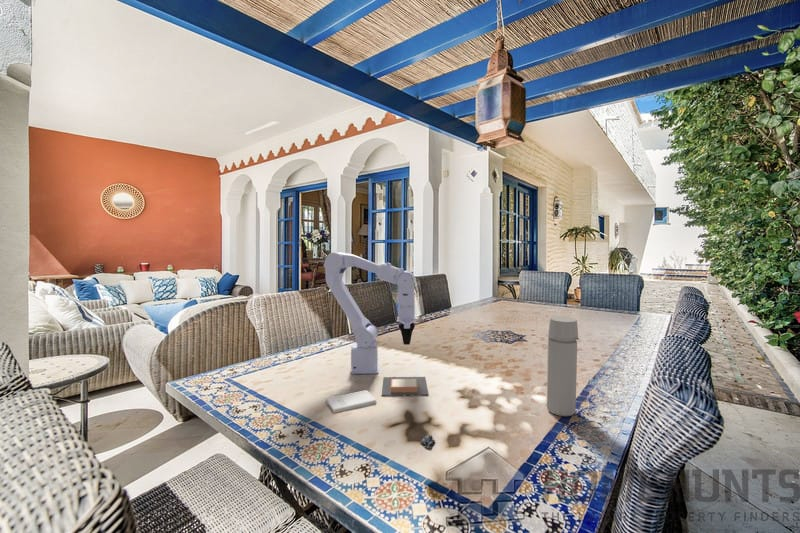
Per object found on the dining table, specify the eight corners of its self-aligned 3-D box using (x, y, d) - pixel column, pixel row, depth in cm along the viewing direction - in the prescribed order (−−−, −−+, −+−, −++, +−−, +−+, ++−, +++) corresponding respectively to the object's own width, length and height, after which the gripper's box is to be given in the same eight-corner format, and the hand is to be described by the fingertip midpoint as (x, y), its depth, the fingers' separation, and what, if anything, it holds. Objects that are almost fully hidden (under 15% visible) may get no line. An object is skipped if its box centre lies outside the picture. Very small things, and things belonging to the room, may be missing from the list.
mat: (381, 396, 107) (381, 394, 107) (383, 378, 121) (383, 377, 121) (428, 395, 107) (428, 394, 107) (425, 377, 121) (425, 376, 121)
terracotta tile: (391, 384, 115) (390, 392, 108) (391, 378, 115) (390, 387, 108) (416, 383, 115) (417, 392, 108) (416, 378, 115) (417, 386, 108)
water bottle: (575, 420, 91) (577, 323, 89) (542, 413, 95) (544, 320, 94) (579, 406, 99) (581, 316, 97) (548, 400, 103) (550, 314, 101)
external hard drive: (376, 405, 102) (333, 414, 97) (366, 394, 110) (325, 402, 104) (376, 399, 102) (333, 409, 97) (366, 389, 109) (325, 397, 104)
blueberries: (442, 437, 86) (442, 429, 86) (448, 454, 78) (447, 445, 78) (414, 438, 86) (414, 430, 86) (416, 455, 78) (416, 446, 78)
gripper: (419, 309, 118) (419, 350, 119) (416, 302, 133) (417, 338, 133) (397, 309, 118) (398, 350, 119) (397, 302, 133) (398, 338, 133)
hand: (406, 344), depth 126 cm, fingers closed
